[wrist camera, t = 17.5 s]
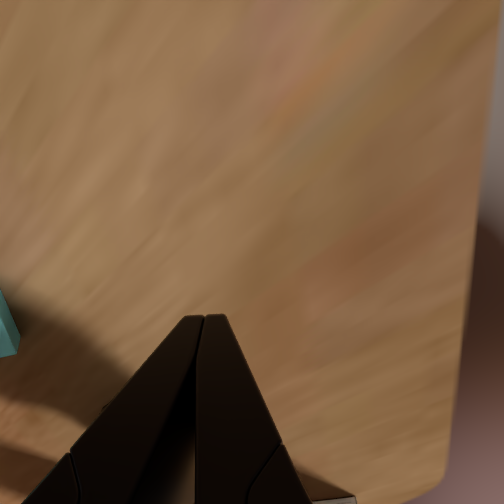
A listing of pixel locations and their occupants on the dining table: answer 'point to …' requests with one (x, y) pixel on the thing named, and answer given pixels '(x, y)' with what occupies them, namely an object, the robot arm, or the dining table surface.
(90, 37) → the dining table surface
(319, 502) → the light bulb box
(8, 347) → the teal domino
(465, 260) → the dining table surface
